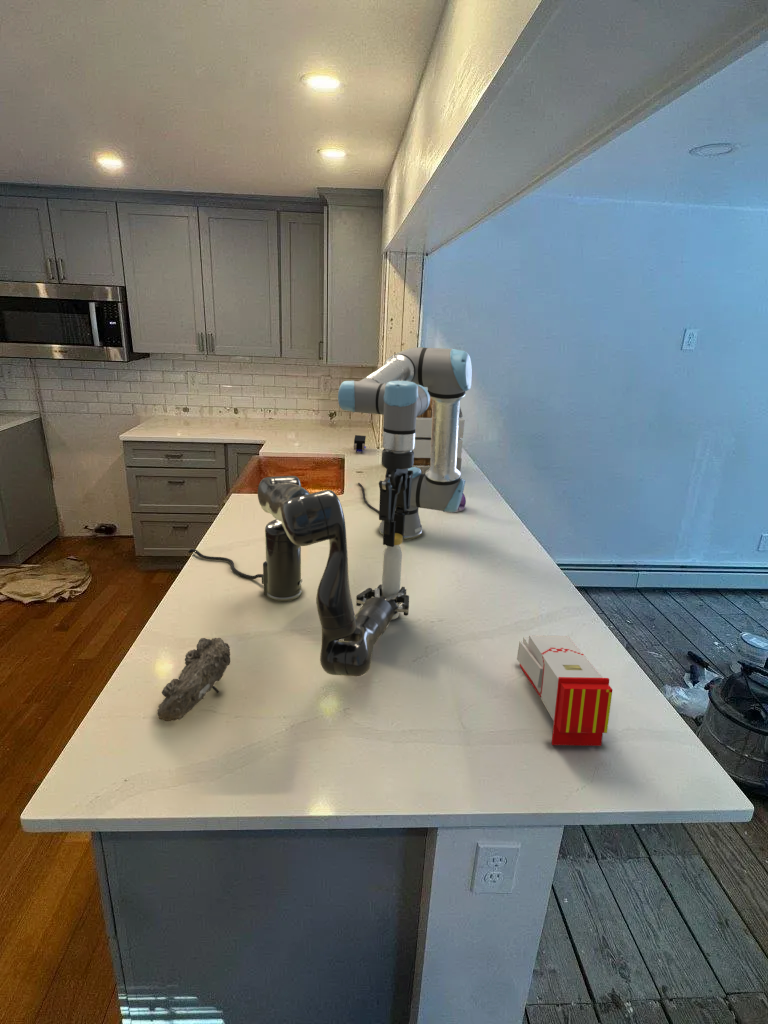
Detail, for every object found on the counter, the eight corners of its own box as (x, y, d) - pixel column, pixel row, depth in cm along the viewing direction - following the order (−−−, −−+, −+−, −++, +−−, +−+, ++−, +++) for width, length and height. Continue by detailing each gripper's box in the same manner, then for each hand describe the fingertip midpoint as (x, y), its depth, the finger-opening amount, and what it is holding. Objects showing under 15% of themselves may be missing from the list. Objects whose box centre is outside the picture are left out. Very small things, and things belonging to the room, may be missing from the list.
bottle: (385, 609, 150) (389, 532, 142) (401, 613, 148) (406, 536, 140) (377, 616, 146) (380, 538, 138) (393, 621, 144) (398, 542, 137)
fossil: (183, 640, 124) (231, 608, 119) (213, 669, 127) (261, 639, 122) (134, 715, 105) (189, 682, 100) (171, 748, 108) (227, 717, 103)
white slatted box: (382, 463, 289) (386, 382, 275) (445, 464, 293) (451, 384, 279) (390, 482, 257) (394, 392, 243) (460, 483, 261) (468, 394, 247)
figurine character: (365, 456, 306) (365, 447, 319) (365, 443, 302) (366, 434, 316) (353, 456, 306) (353, 446, 319) (353, 442, 302) (354, 433, 316)
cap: (380, 542, 139) (381, 536, 139) (390, 536, 143) (391, 531, 142) (395, 546, 137) (396, 540, 136) (405, 541, 140) (406, 535, 140)
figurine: (452, 514, 221) (455, 477, 216) (438, 506, 229) (441, 470, 224) (472, 511, 225) (475, 475, 220) (457, 503, 234) (460, 468, 229)
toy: (564, 619, 129) (622, 685, 100) (558, 672, 132) (613, 753, 103) (511, 618, 129) (554, 684, 100) (507, 672, 132) (547, 752, 102)
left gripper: (402, 611, 128) (421, 580, 144) (343, 599, 132) (368, 570, 148) (400, 640, 131) (419, 606, 146) (343, 627, 135) (367, 595, 150)
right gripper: (400, 440, 141) (395, 528, 149) (365, 454, 126) (362, 550, 134) (428, 445, 138) (421, 534, 145) (395, 459, 123) (390, 557, 131)
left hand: (393, 588), depth 147 cm, fingers closed on bottle, 4 cm apart
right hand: (393, 541), depth 140 cm, fingers closed on cap, 4 cm apart
